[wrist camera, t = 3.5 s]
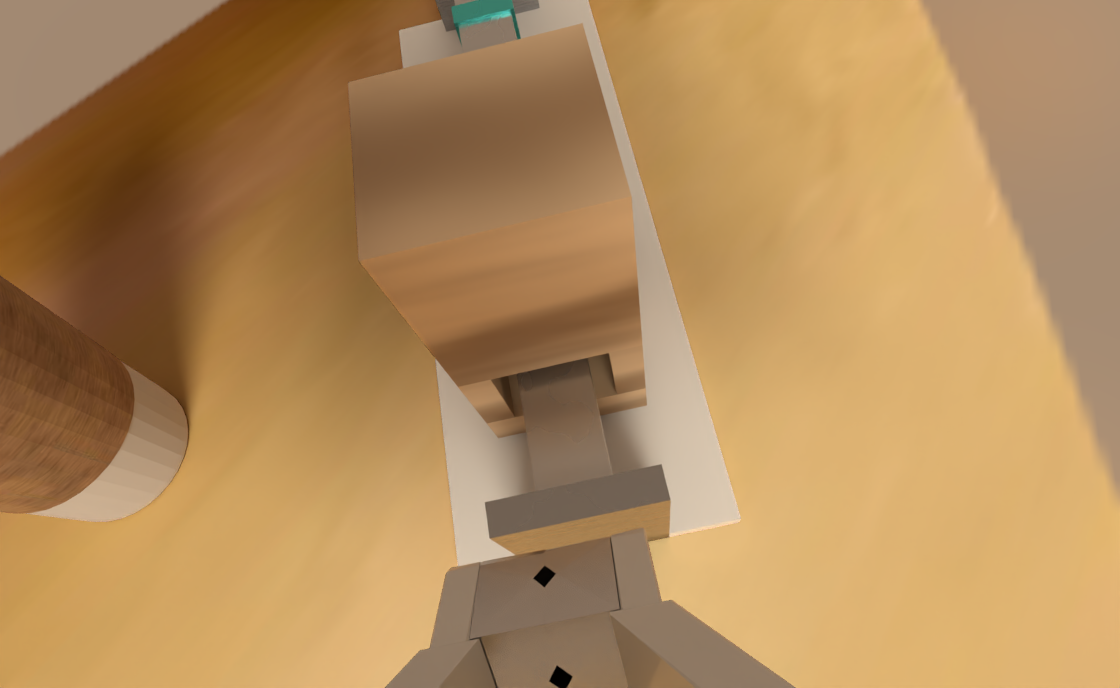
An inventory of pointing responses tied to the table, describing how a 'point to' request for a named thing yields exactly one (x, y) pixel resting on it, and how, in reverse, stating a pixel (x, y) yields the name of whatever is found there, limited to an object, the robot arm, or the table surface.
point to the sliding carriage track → (560, 404)
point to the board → (670, 371)
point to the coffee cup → (78, 421)
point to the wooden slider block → (502, 218)
